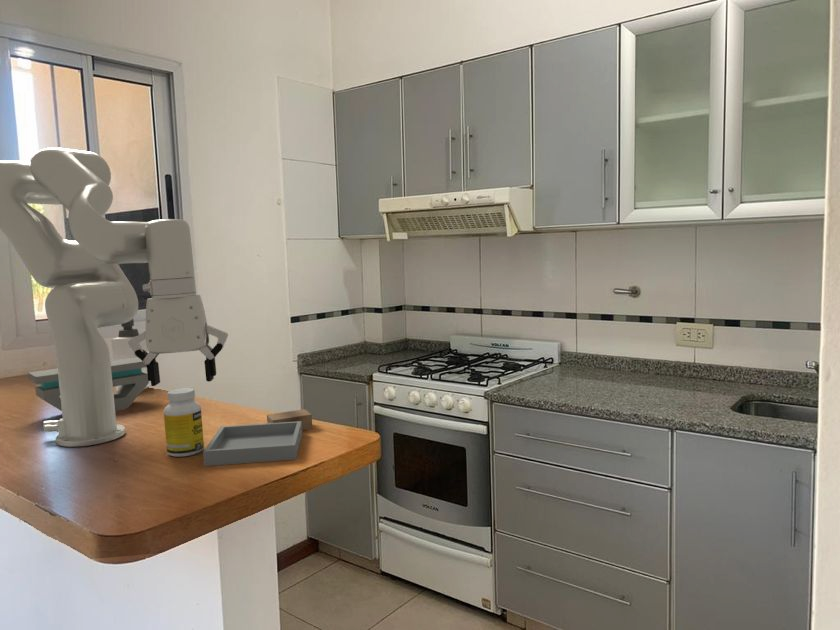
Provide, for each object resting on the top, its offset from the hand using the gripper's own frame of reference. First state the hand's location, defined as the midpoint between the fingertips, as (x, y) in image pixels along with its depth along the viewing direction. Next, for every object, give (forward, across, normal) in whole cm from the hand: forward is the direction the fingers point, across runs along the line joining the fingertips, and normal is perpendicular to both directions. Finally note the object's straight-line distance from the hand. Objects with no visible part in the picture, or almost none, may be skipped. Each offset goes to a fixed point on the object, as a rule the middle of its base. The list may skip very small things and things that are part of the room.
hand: (183, 382), depth 118 cm
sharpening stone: (+12, -31, +39) cm, 51 cm away
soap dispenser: (+12, -30, +61) cm, 69 cm away
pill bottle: (+13, -1, +1) cm, 13 cm away
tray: (+14, +12, 0) cm, 18 cm away
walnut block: (+13, +17, +12) cm, 25 cm away
